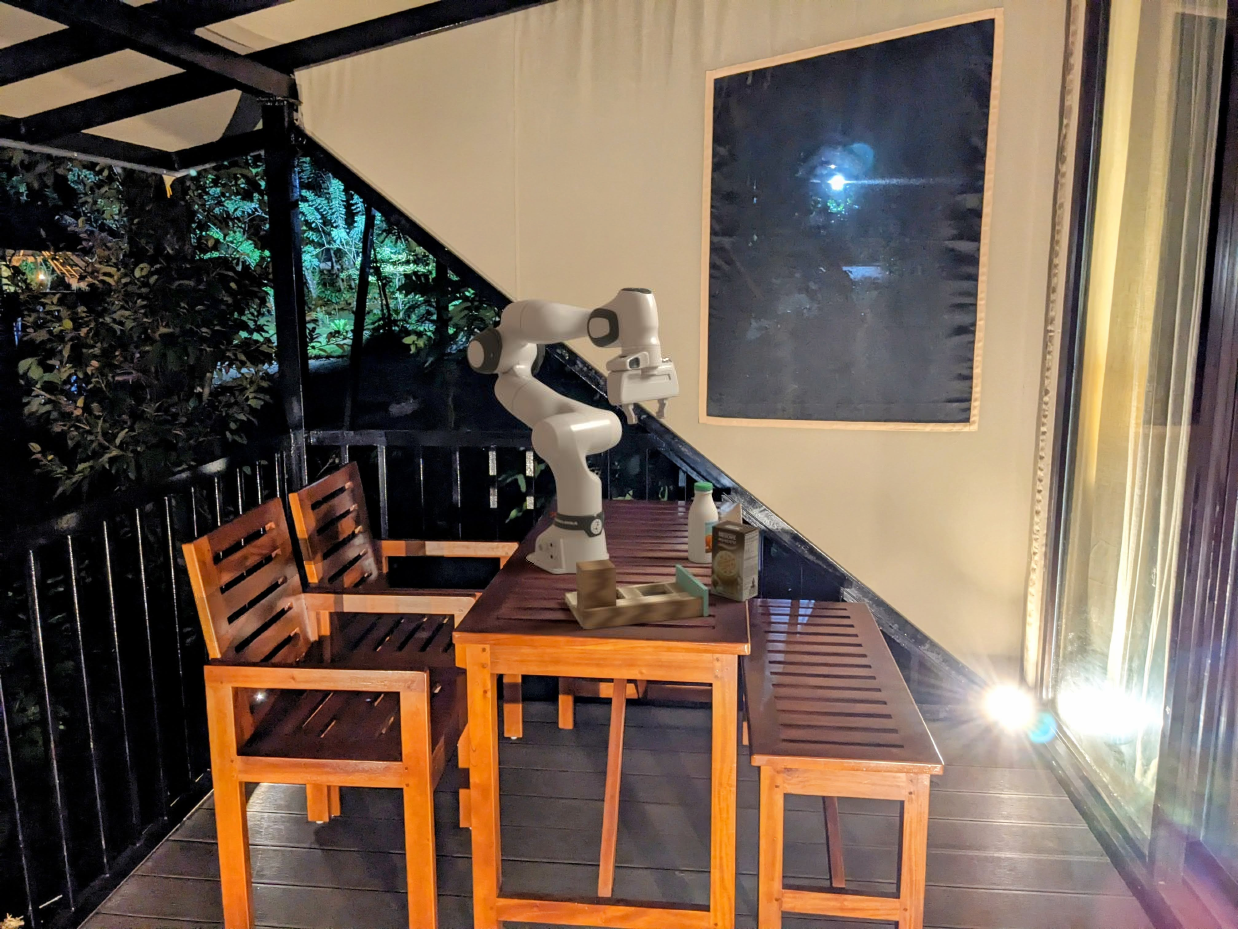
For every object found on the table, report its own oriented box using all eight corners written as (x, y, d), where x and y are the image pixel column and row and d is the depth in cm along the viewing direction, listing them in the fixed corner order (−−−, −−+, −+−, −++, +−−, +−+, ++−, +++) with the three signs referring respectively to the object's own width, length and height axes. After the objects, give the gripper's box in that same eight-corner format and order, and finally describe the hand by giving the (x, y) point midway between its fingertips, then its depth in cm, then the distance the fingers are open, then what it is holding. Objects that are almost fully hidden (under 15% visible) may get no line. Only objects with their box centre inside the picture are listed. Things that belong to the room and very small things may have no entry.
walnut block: (583, 617, 187) (582, 570, 185) (577, 607, 193) (576, 562, 191) (616, 613, 189) (615, 567, 187) (609, 603, 194) (608, 559, 192)
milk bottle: (694, 565, 227) (694, 487, 223) (683, 557, 234) (683, 481, 230) (723, 562, 229) (723, 485, 225) (711, 554, 236) (711, 479, 232)
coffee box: (709, 593, 206) (709, 525, 203) (725, 586, 210) (726, 519, 207) (743, 602, 200) (744, 532, 197) (759, 595, 204) (760, 526, 201)
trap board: (583, 629, 185) (583, 611, 184) (565, 601, 202) (564, 584, 202) (703, 615, 192) (703, 597, 191) (675, 589, 209) (675, 572, 208)
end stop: (703, 616, 192) (703, 589, 190) (675, 590, 209) (675, 565, 208) (708, 615, 192) (708, 588, 191) (679, 589, 209) (679, 564, 208)
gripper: (662, 357, 213) (667, 416, 214) (600, 364, 198) (605, 426, 200) (682, 356, 208) (687, 415, 210) (620, 362, 194) (626, 426, 196)
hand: (647, 421), depth 205 cm, fingers open, 8 cm apart
